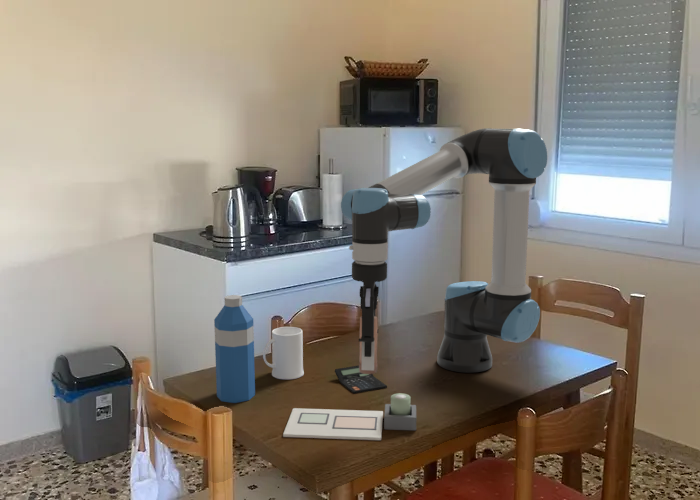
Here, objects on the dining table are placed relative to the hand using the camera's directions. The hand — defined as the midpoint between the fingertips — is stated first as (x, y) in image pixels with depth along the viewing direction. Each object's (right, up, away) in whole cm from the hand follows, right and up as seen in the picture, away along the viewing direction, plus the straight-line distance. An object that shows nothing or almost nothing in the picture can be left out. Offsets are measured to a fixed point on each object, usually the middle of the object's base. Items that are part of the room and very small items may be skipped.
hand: (368, 365), depth 157 cm
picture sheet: (-7, -14, +3) cm, 16 cm away
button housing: (+7, -14, +4) cm, 16 cm away
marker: (0, -1, 0) cm, 1 cm away
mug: (-22, -8, +34) cm, 41 cm away
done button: (+7, -11, +4) cm, 14 cm away
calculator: (-1, -10, +28) cm, 30 cm away
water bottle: (-32, -11, +20) cm, 39 cm away
